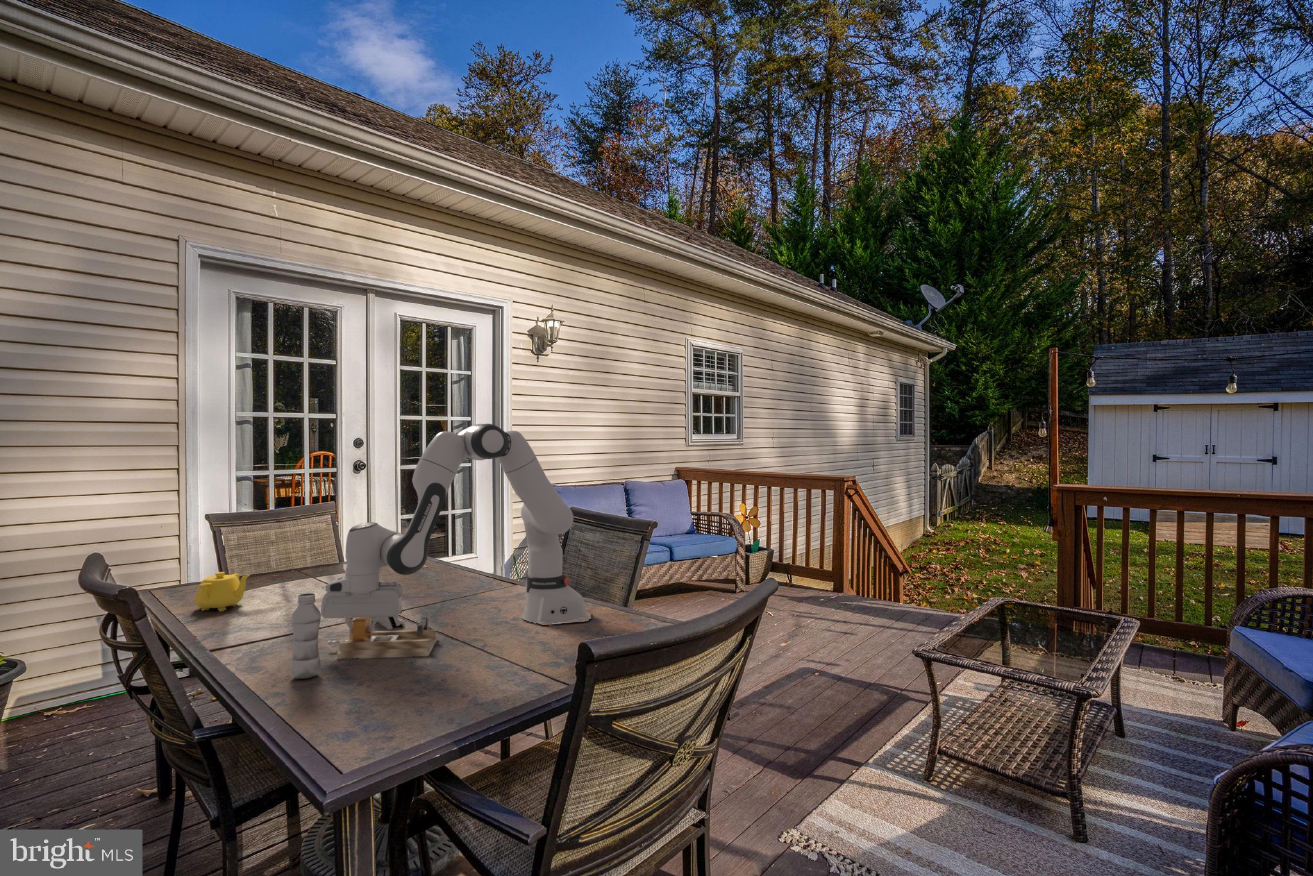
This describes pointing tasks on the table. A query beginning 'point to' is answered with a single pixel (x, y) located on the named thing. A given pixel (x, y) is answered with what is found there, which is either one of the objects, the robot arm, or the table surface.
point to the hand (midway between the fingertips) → (361, 633)
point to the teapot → (220, 591)
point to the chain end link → (364, 633)
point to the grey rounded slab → (390, 622)
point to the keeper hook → (422, 626)
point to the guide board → (390, 645)
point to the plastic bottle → (305, 638)
